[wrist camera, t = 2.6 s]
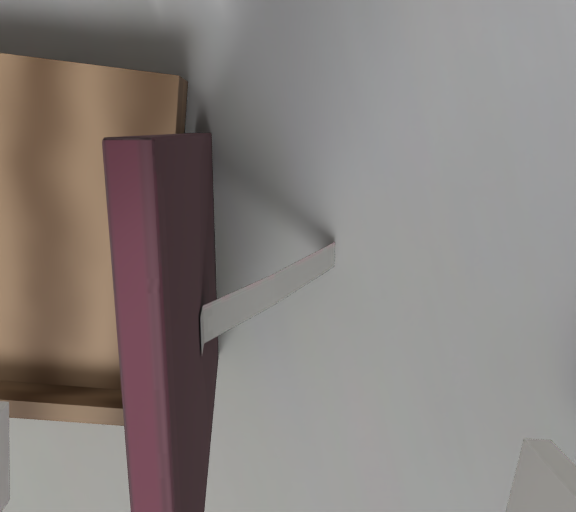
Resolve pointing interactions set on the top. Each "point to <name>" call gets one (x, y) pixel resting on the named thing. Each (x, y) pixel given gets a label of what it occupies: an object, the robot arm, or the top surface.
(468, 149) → the top surface
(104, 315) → the walnut ledge
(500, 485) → the top surface
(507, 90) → the top surface
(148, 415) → the picture frame
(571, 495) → the robot arm
